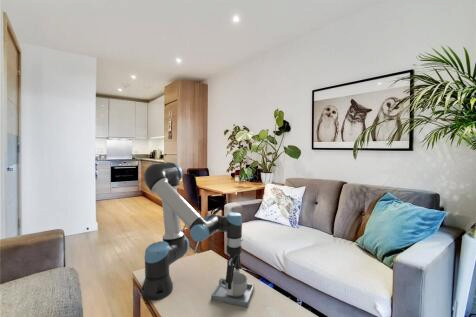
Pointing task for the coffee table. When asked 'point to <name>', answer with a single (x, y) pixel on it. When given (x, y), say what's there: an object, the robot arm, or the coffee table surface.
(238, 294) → the teacup
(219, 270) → the coffee table surface
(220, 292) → the tray
